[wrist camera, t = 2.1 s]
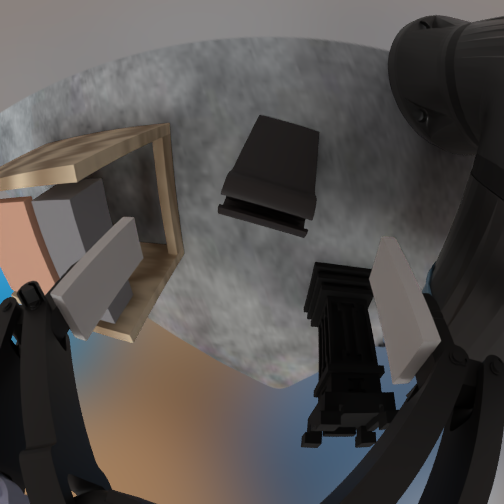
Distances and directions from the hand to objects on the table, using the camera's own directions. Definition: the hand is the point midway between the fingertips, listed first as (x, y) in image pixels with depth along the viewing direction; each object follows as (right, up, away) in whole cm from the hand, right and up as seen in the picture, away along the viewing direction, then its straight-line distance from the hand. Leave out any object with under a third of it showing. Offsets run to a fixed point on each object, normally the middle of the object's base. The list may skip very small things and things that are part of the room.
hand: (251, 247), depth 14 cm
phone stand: (+3, +9, +13) cm, 16 cm away
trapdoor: (-21, +1, +9) cm, 23 cm away
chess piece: (+12, -5, +21) cm, 25 cm away
